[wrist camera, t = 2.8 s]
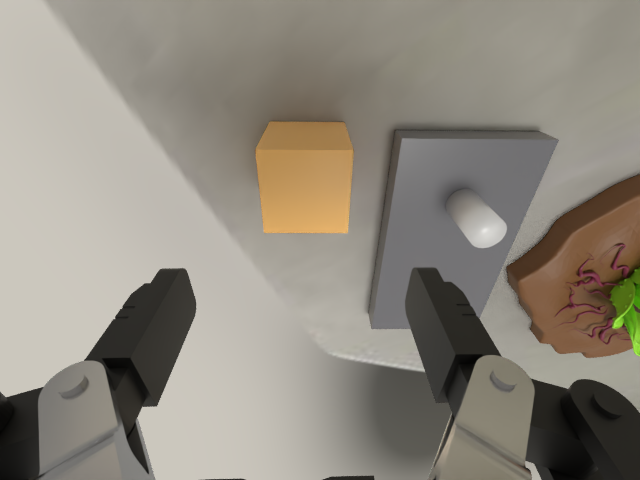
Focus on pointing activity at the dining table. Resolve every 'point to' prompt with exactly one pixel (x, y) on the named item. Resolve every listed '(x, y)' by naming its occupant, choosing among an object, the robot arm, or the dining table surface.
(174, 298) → the robot arm
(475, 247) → the board
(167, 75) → the dining table surface
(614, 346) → the plant
